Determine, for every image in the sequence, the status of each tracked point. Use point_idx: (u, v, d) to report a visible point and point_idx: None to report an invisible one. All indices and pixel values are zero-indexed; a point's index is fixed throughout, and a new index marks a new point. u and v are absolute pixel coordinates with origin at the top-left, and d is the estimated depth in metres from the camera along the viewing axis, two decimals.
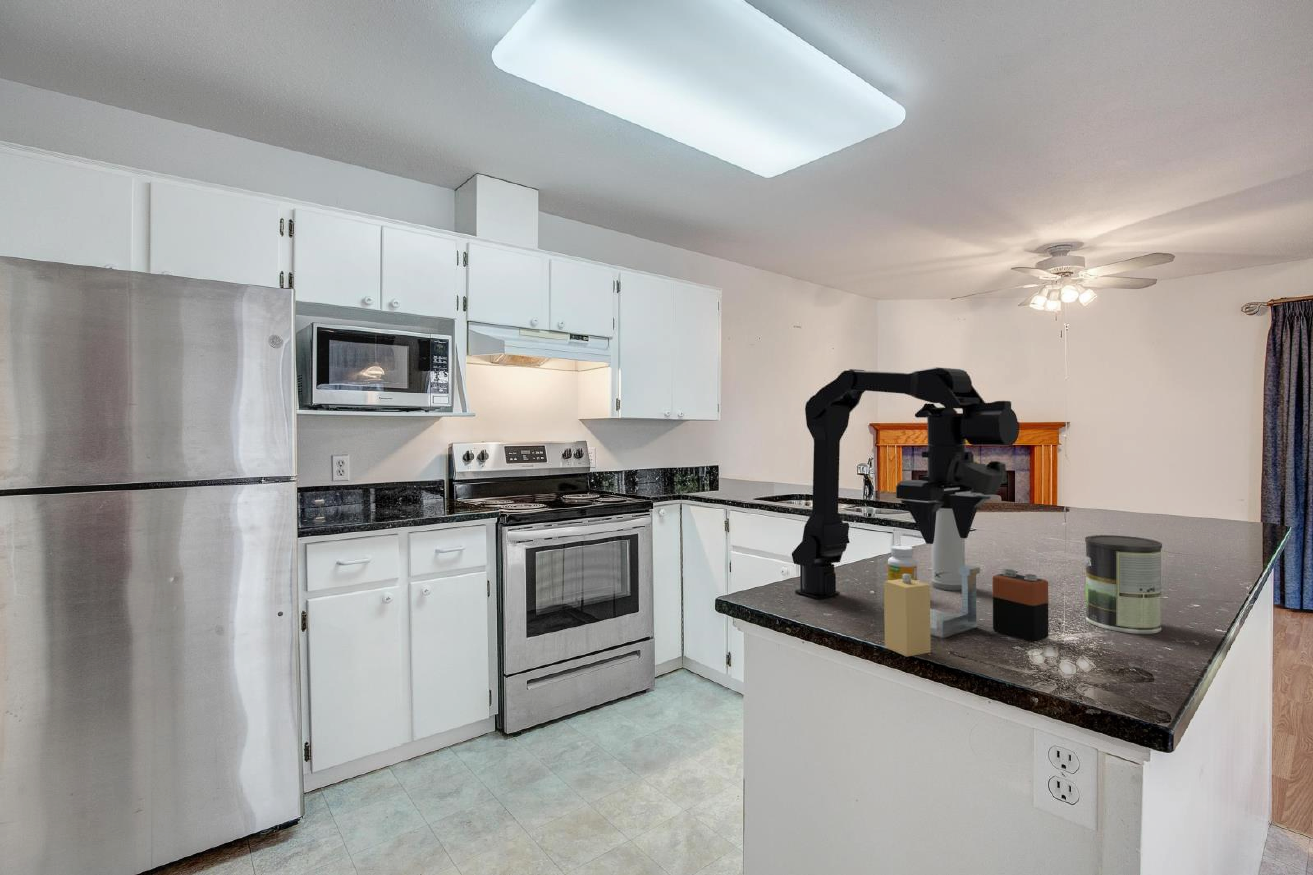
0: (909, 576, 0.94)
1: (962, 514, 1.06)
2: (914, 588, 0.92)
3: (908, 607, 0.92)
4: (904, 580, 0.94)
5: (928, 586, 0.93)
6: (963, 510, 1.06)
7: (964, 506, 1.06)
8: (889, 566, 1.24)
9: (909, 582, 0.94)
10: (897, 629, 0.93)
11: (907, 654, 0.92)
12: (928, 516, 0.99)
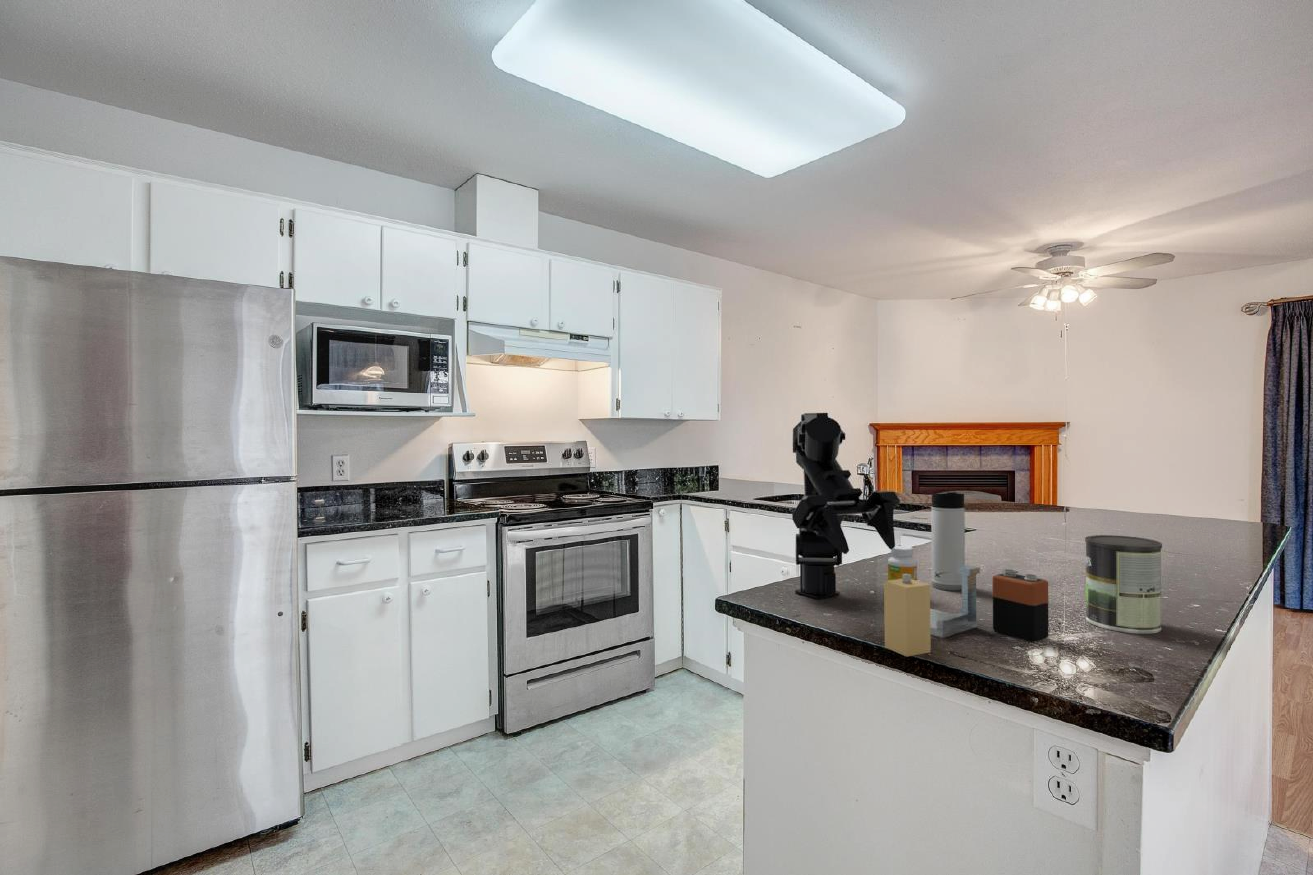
0: (909, 576, 0.94)
1: None
2: (914, 588, 0.92)
3: (908, 607, 0.92)
4: (904, 580, 0.94)
5: (928, 586, 0.93)
6: None
7: None
8: (889, 566, 1.24)
9: (909, 582, 0.94)
10: (897, 629, 0.93)
11: (907, 654, 0.92)
12: None
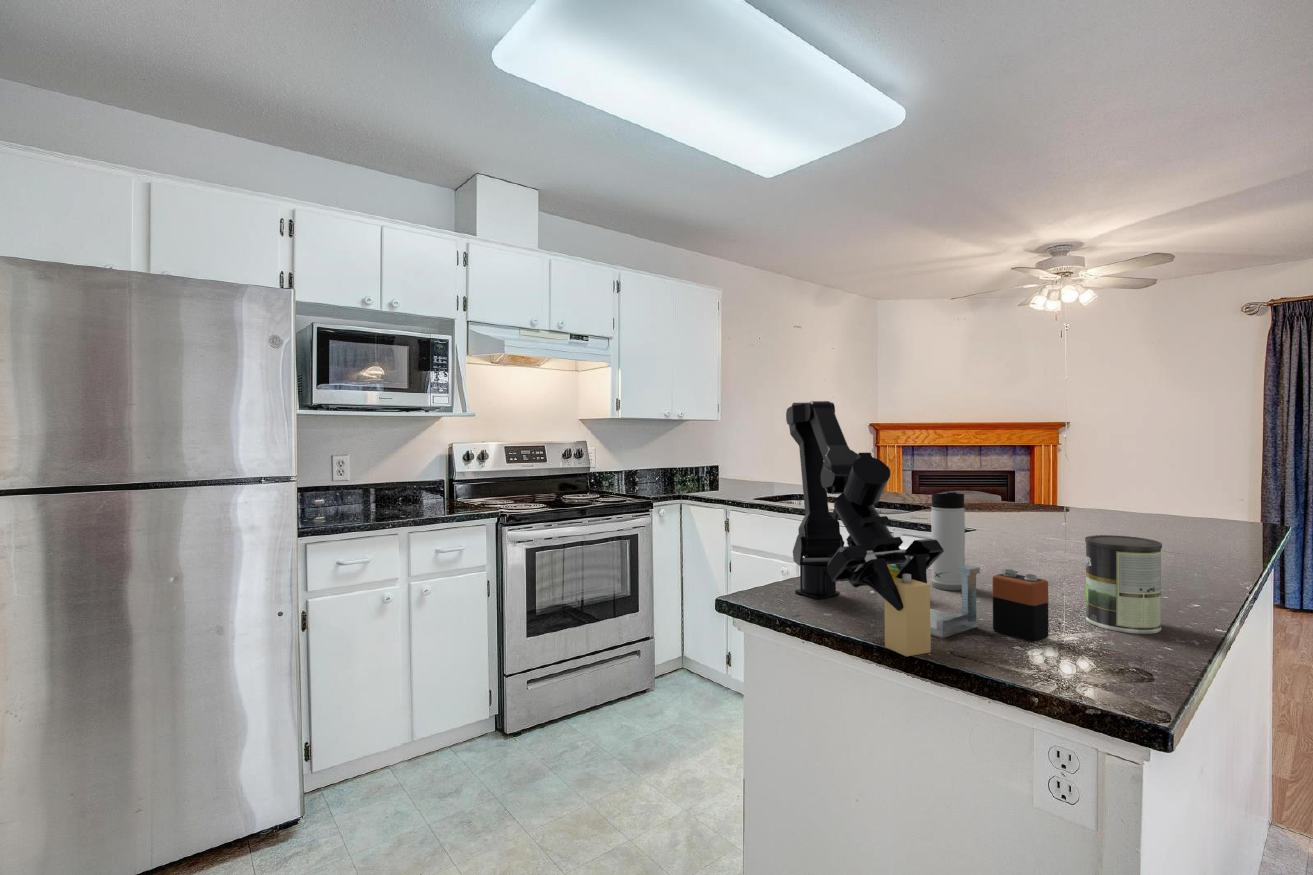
0: (909, 576, 0.94)
1: None
2: (914, 587, 0.92)
3: (908, 607, 0.92)
4: (904, 580, 0.94)
5: (928, 586, 0.93)
6: None
7: None
8: (889, 566, 1.24)
9: (909, 582, 0.94)
10: (897, 629, 0.93)
11: (907, 654, 0.92)
12: None
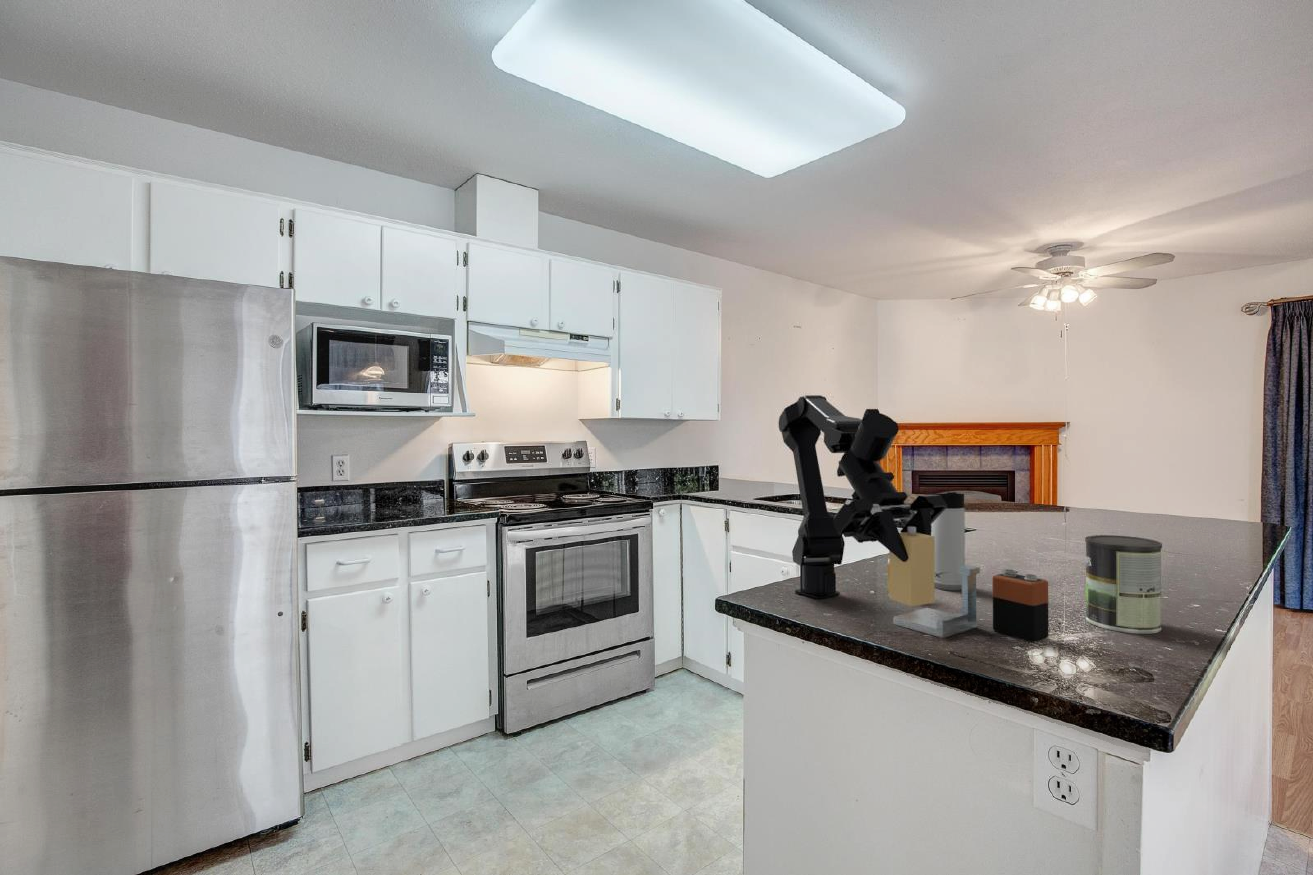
0: (914, 528, 0.95)
1: None
2: (919, 539, 0.94)
3: (913, 558, 0.93)
4: (909, 532, 0.96)
5: (933, 538, 0.95)
6: None
7: None
8: None
9: (914, 534, 0.95)
10: (902, 580, 0.95)
11: (912, 604, 0.93)
12: None
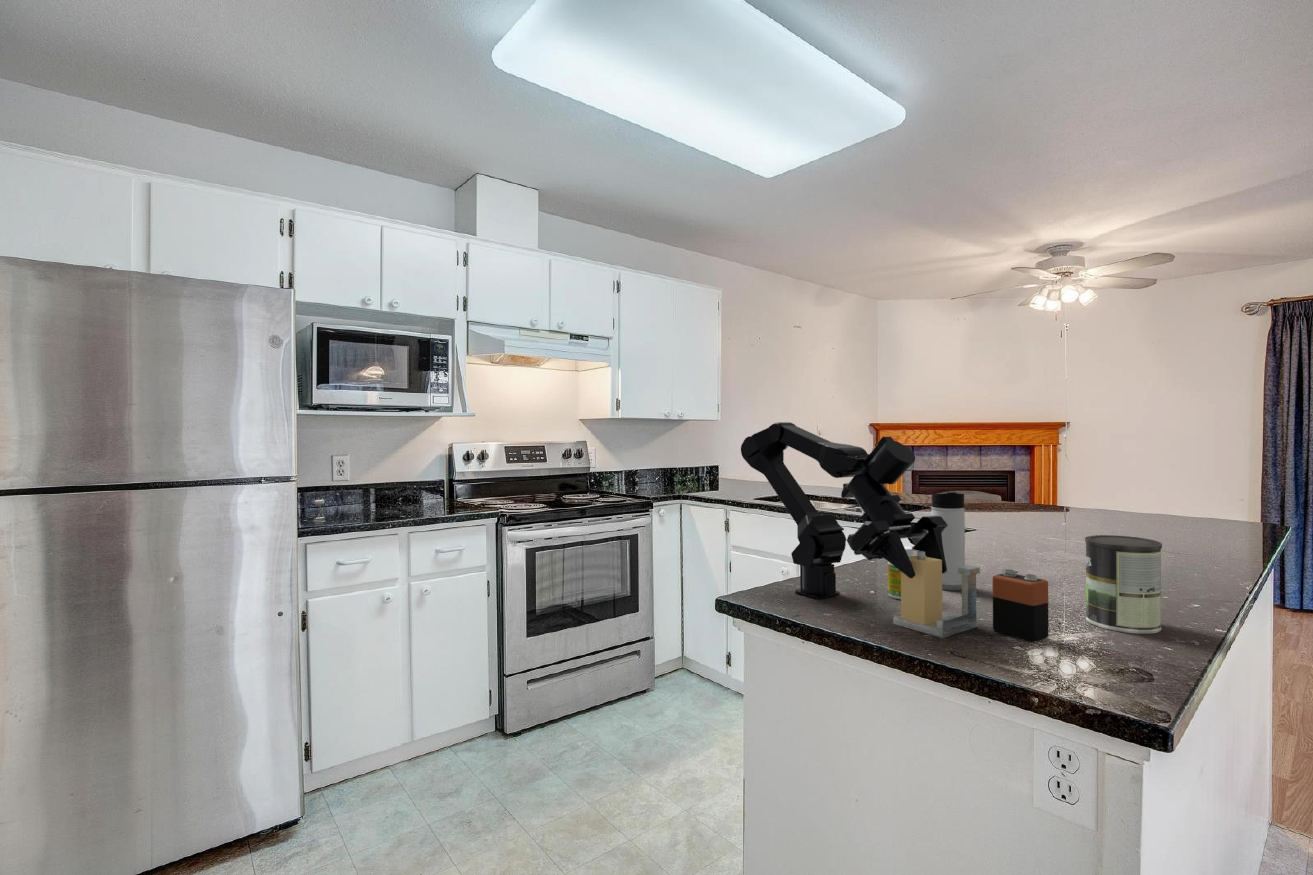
0: (924, 553, 1.05)
1: None
2: (930, 563, 1.03)
3: (925, 580, 1.03)
4: (919, 557, 1.05)
5: (940, 561, 1.04)
6: None
7: None
8: (889, 566, 1.24)
9: (924, 558, 1.05)
10: (914, 600, 1.04)
11: (925, 622, 1.03)
12: None
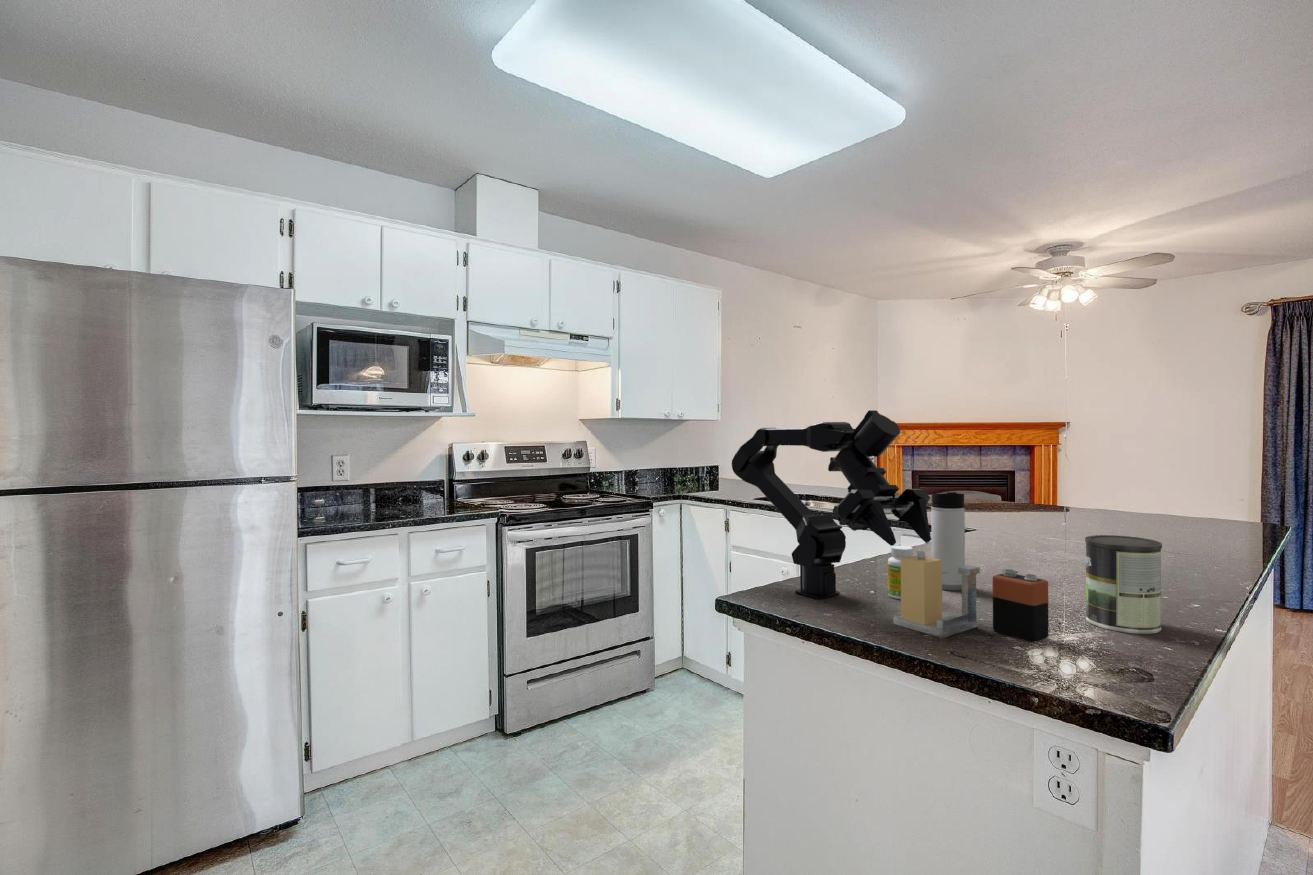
0: (923, 553, 1.05)
1: None
2: (930, 563, 1.03)
3: (925, 580, 1.03)
4: (919, 557, 1.05)
5: (940, 561, 1.04)
6: None
7: None
8: (889, 566, 1.24)
9: (923, 558, 1.05)
10: (914, 600, 1.04)
11: (925, 622, 1.03)
12: None
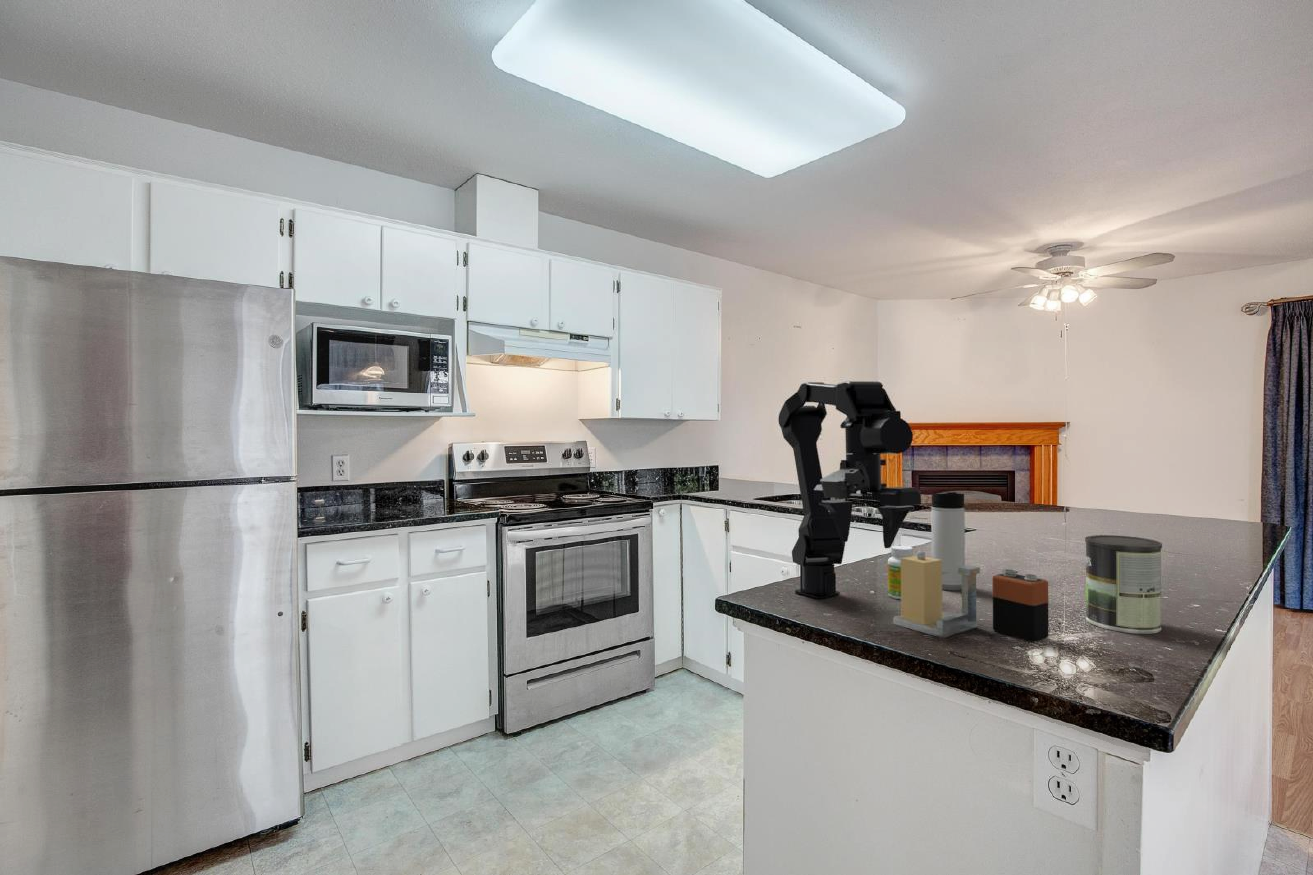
0: (923, 553, 1.05)
1: None
2: (930, 563, 1.03)
3: (925, 580, 1.03)
4: (919, 557, 1.05)
5: (940, 561, 1.04)
6: None
7: None
8: (889, 566, 1.24)
9: (923, 558, 1.05)
10: (914, 600, 1.04)
11: (925, 622, 1.03)
12: None
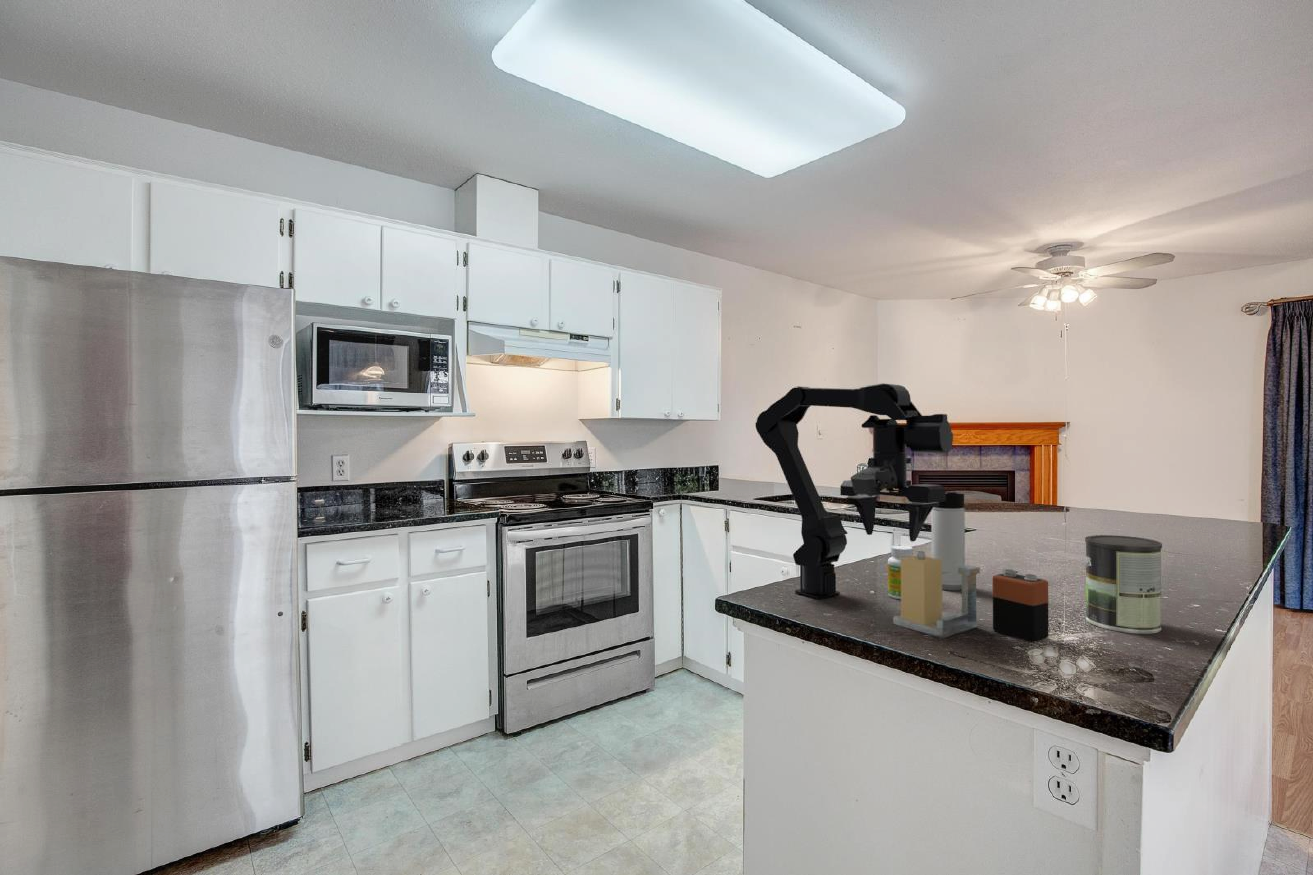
0: (923, 553, 1.05)
1: None
2: (930, 563, 1.03)
3: (925, 580, 1.03)
4: (919, 557, 1.05)
5: (940, 561, 1.04)
6: None
7: None
8: (889, 566, 1.24)
9: (923, 558, 1.05)
10: (914, 600, 1.04)
11: (925, 622, 1.03)
12: None
